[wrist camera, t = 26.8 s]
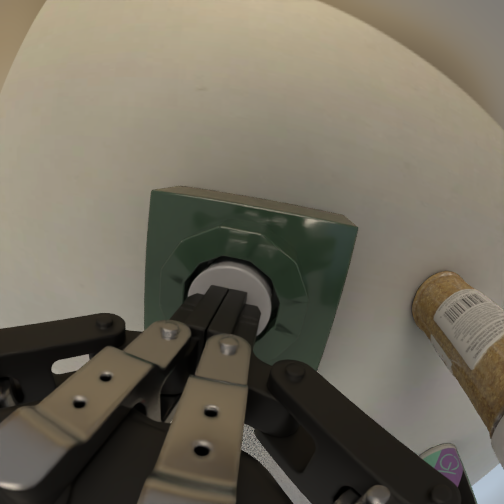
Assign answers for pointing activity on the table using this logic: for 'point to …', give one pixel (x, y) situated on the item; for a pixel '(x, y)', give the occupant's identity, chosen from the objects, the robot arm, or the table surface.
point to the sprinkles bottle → (467, 344)
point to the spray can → (451, 469)
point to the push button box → (252, 261)
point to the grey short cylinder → (238, 283)
